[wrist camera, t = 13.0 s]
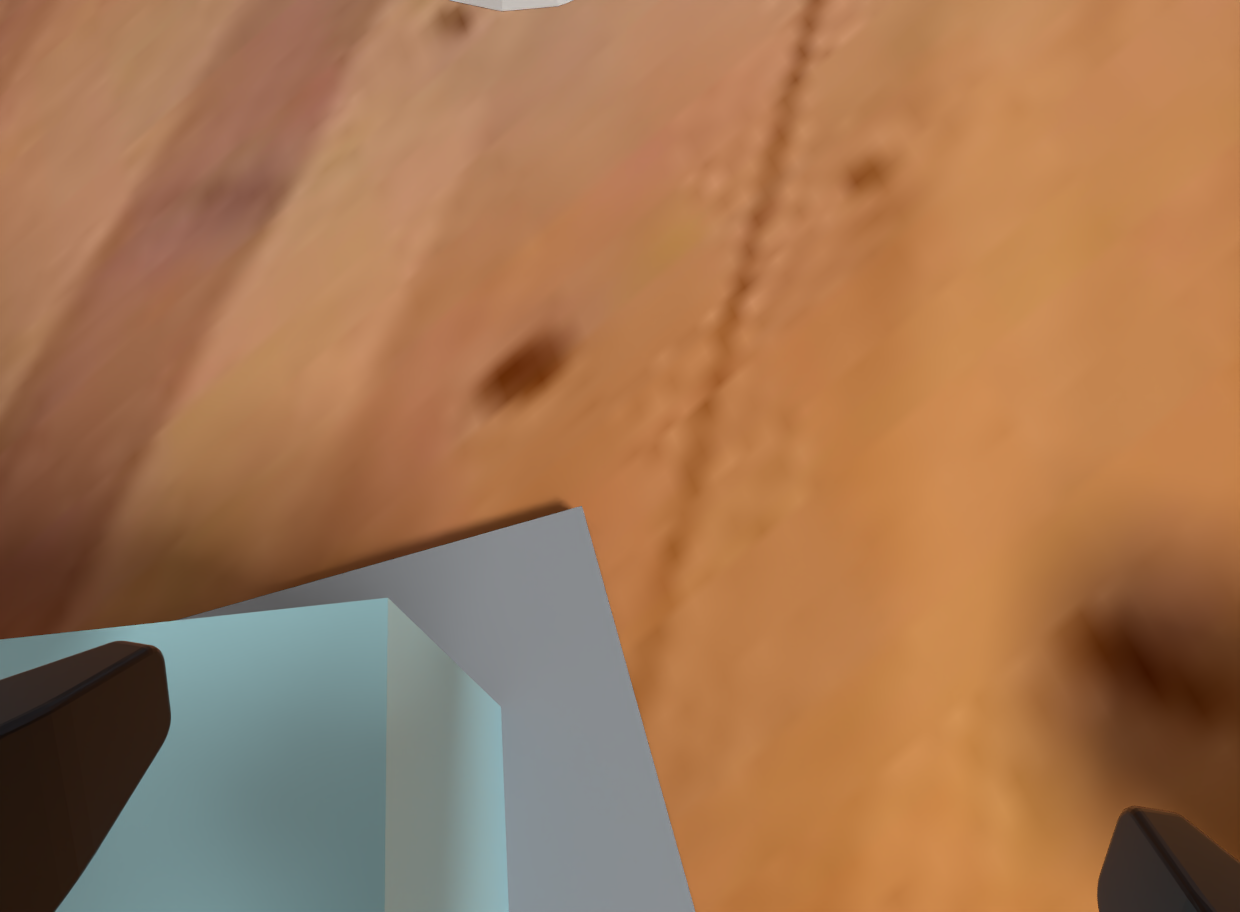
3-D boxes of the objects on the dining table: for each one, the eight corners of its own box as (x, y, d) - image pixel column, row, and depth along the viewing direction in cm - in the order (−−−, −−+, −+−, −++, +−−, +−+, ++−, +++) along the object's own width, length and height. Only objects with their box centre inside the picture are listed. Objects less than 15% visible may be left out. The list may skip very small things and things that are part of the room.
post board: (764, 1160, 19) (784, 1232, 15) (52, 1389, 18) (-125, 1530, 14) (585, 517, 24) (565, 446, 21) (41, 670, 24) (-87, 628, 20)
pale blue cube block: (514, 1053, 19) (382, 1178, 11) (177, 1086, 19) (-206, 1235, 11) (500, 706, 22) (388, 597, 14) (207, 737, 22) (-78, 648, 14)
